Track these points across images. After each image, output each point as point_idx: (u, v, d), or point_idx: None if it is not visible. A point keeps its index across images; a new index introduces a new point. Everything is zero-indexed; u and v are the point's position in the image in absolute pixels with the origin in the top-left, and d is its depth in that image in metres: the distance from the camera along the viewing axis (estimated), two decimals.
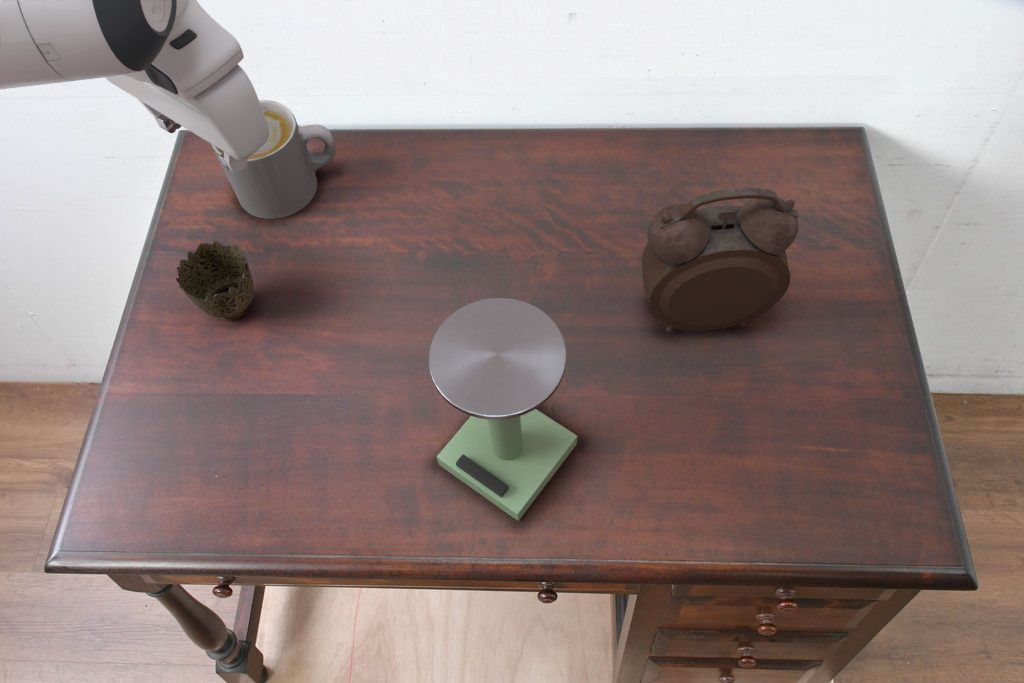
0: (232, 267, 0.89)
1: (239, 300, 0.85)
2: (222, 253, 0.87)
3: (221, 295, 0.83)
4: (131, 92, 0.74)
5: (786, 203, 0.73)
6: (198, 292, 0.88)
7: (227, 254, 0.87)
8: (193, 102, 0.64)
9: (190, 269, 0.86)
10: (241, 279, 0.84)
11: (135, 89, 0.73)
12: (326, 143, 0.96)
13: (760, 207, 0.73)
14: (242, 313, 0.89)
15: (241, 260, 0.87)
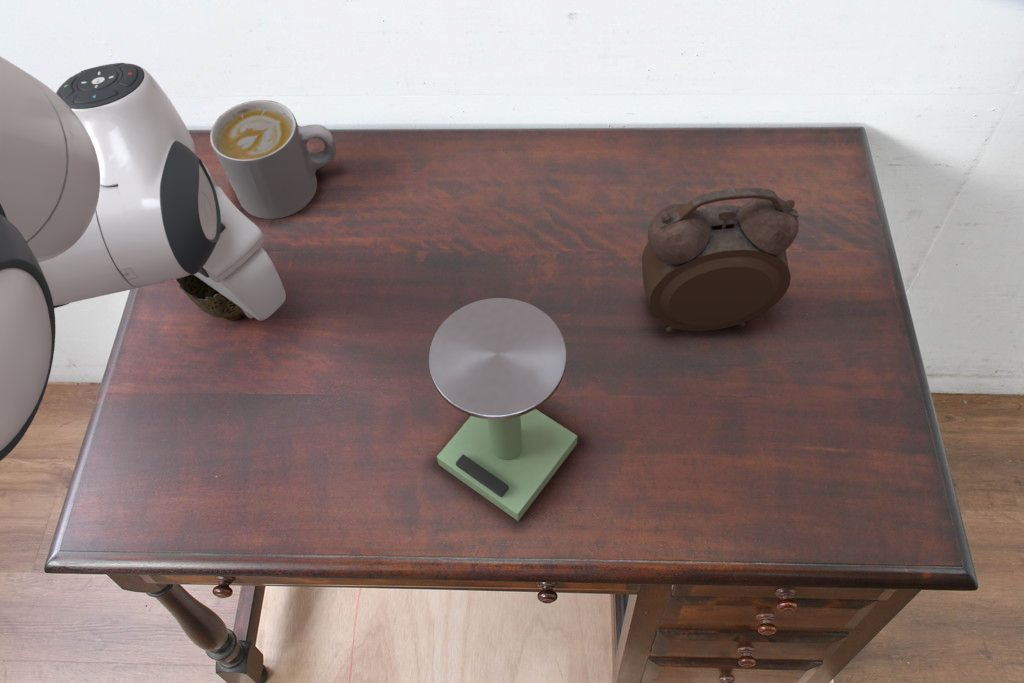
0: None
1: None
2: None
3: (221, 295, 0.83)
4: None
5: (786, 203, 0.73)
6: (198, 292, 0.88)
7: None
8: (222, 282, 0.75)
9: None
10: None
11: None
12: (326, 143, 0.96)
13: (760, 207, 0.73)
14: (242, 313, 0.89)
15: None
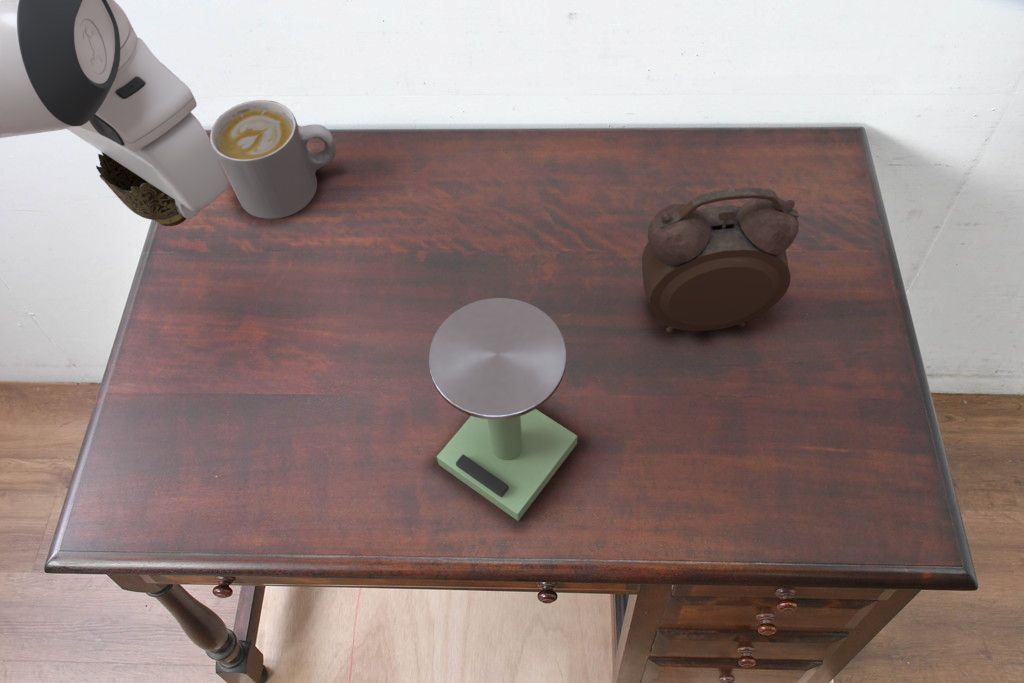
0: None
1: None
2: None
3: (150, 185, 0.68)
4: (82, 137, 0.70)
5: (786, 203, 0.73)
6: (127, 190, 0.74)
7: None
8: (141, 153, 0.60)
9: None
10: None
11: (86, 135, 0.69)
12: (326, 143, 0.96)
13: (760, 207, 0.73)
14: (181, 217, 0.75)
15: None
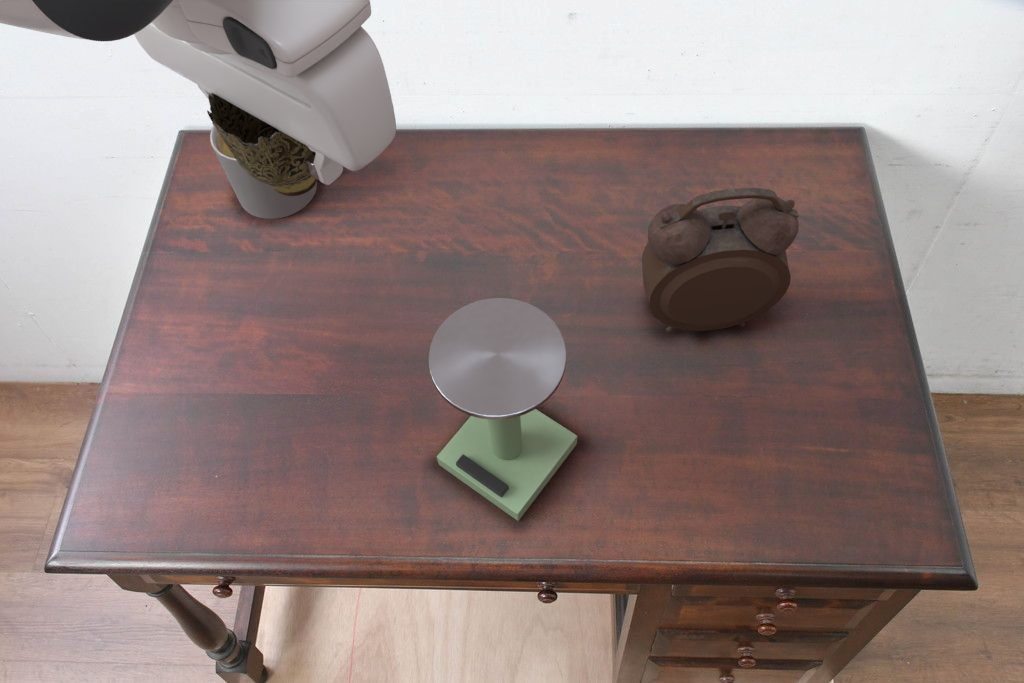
0: None
1: (310, 152, 0.52)
2: None
3: (284, 135, 0.50)
4: (187, 73, 0.52)
5: (786, 203, 0.73)
6: None
7: None
8: (298, 82, 0.42)
9: (229, 106, 0.54)
10: None
11: (194, 68, 0.50)
12: None
13: (760, 207, 0.73)
14: (309, 184, 0.56)
15: None
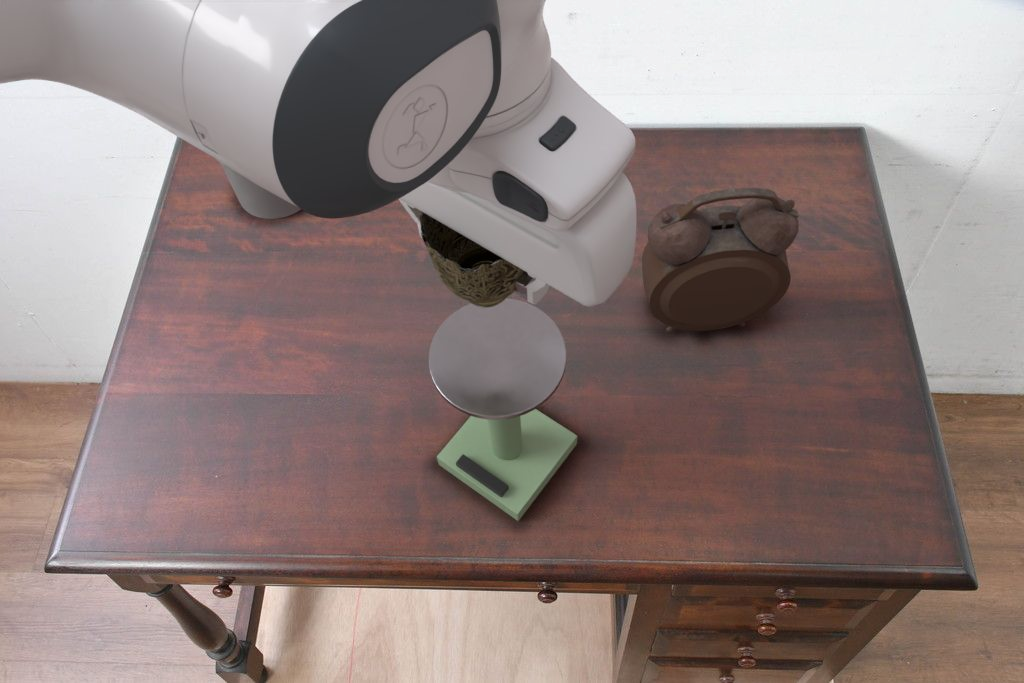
0: None
1: (521, 272, 0.50)
2: None
3: (505, 262, 0.48)
4: None
5: (786, 203, 0.73)
6: None
7: None
8: (562, 232, 0.40)
9: (433, 221, 0.51)
10: None
11: None
12: None
13: (760, 207, 0.73)
14: None
15: None
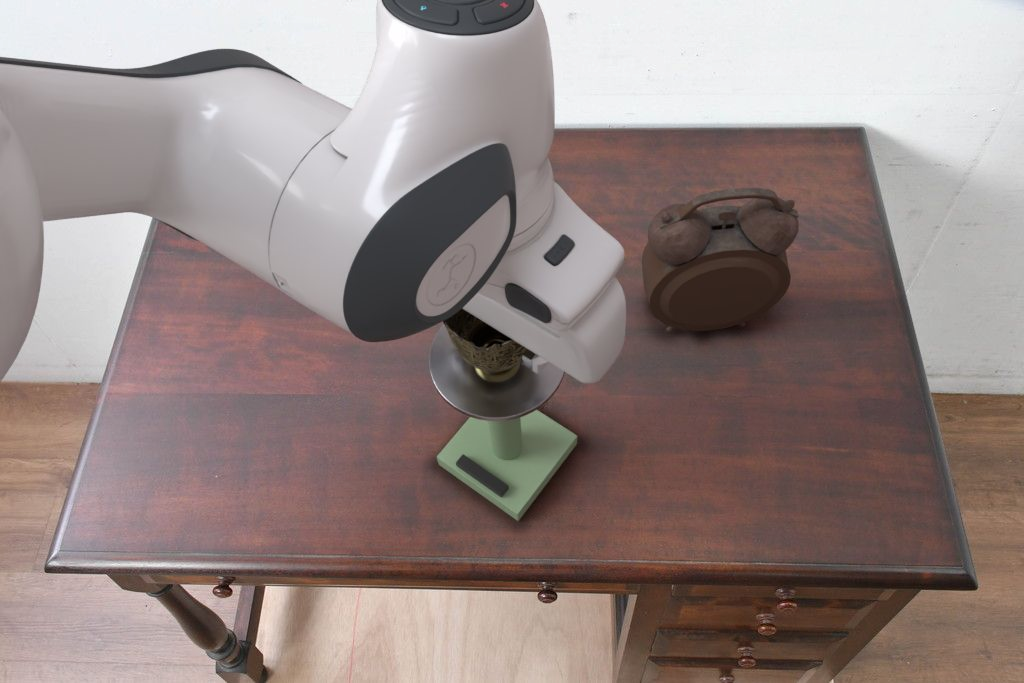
0: None
1: None
2: None
3: (514, 342, 0.55)
4: None
5: (786, 203, 0.73)
6: None
7: None
8: None
9: None
10: None
11: None
12: None
13: (760, 207, 0.73)
14: None
15: None
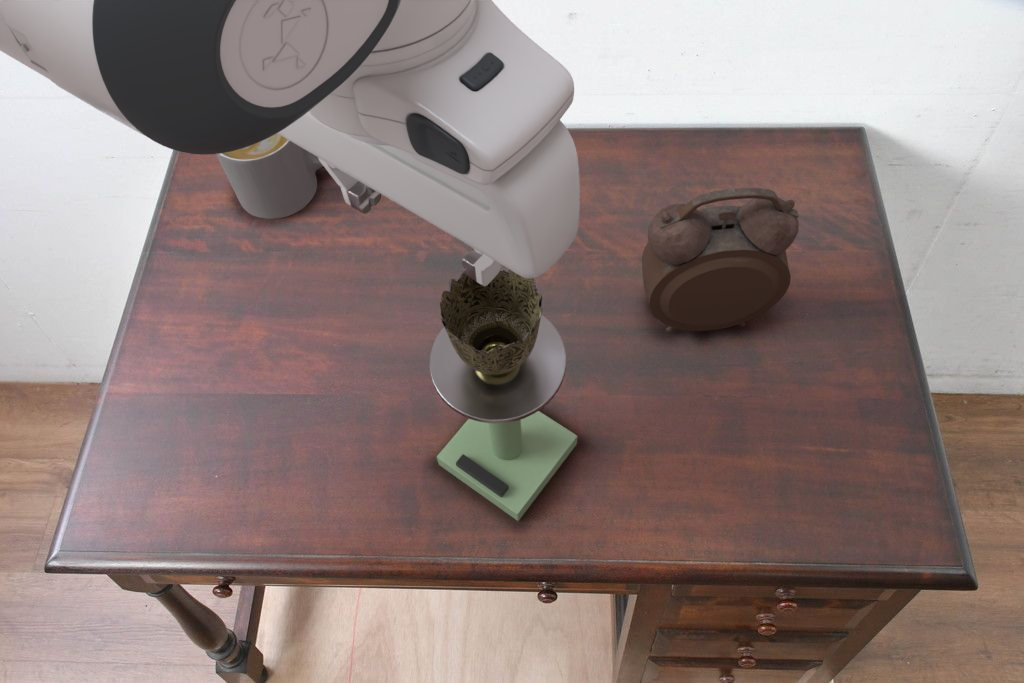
0: (499, 300, 0.62)
1: (527, 350, 0.58)
2: (492, 280, 0.60)
3: (514, 345, 0.56)
4: (320, 152, 0.44)
5: (786, 203, 0.73)
6: (455, 337, 0.61)
7: (499, 282, 0.60)
8: (489, 187, 0.35)
9: (451, 304, 0.59)
10: (539, 321, 0.57)
11: (332, 149, 0.43)
12: None
13: (760, 207, 0.73)
14: None
15: (521, 291, 0.60)
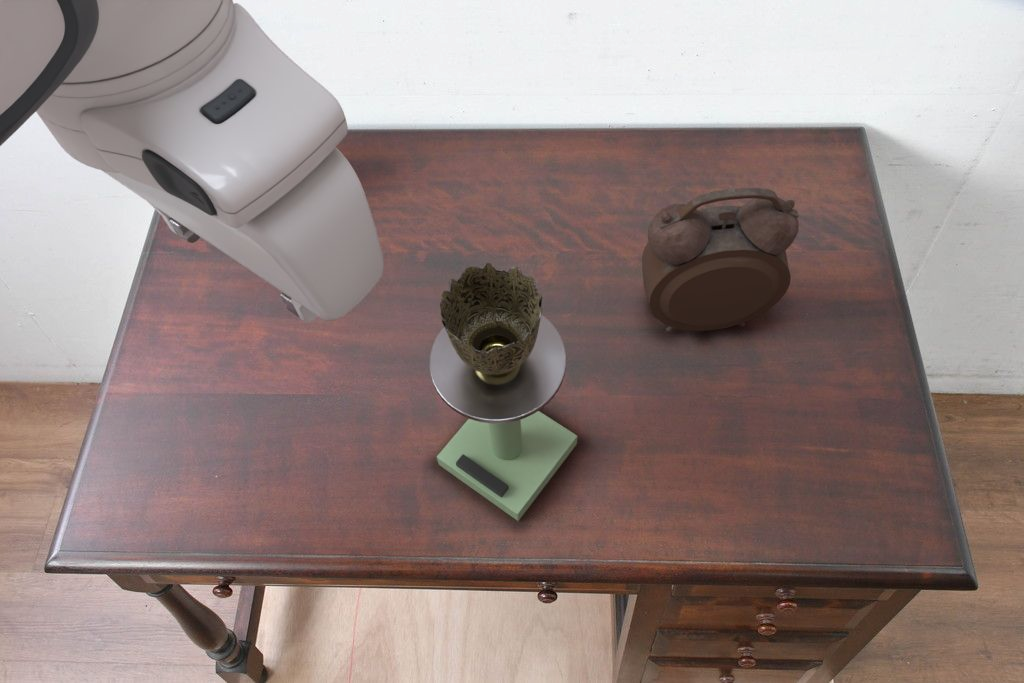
0: (499, 300, 0.62)
1: (527, 350, 0.58)
2: (492, 280, 0.60)
3: (514, 345, 0.56)
4: (121, 181, 0.41)
5: (786, 203, 0.73)
6: (455, 337, 0.61)
7: (499, 282, 0.60)
8: (247, 229, 0.31)
9: (451, 304, 0.59)
10: (539, 321, 0.57)
11: (129, 178, 0.40)
12: None
13: (760, 207, 0.73)
14: None
15: (521, 291, 0.60)
